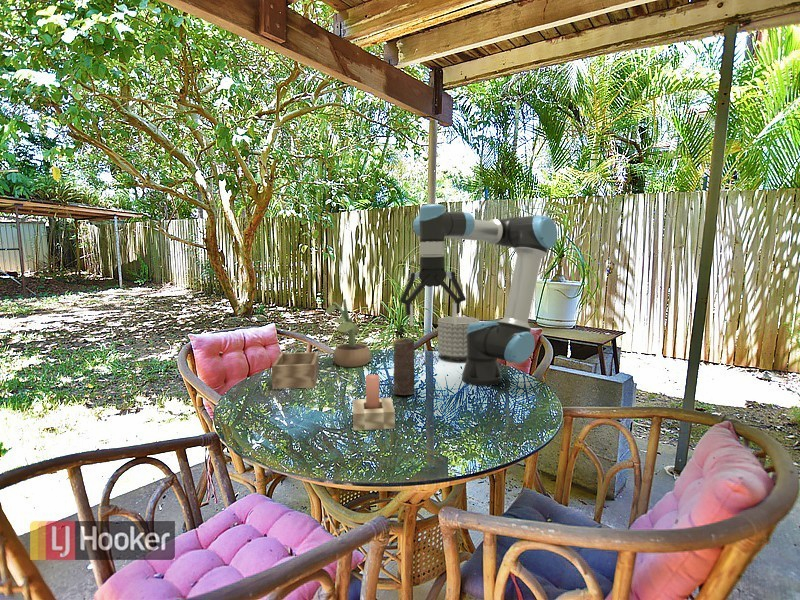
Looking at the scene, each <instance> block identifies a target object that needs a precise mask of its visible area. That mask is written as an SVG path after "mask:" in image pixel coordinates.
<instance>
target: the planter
mask: <svg viewBox="0 0 800 600" xmlns="http://www.w3.org/2000/svg"><path fill="white" fill-rule="evenodd" d="M474 322H480V319H479V318H476V317H471V316H457V324H453V323H452V316H445V317H440V318H438V320H437V325H438V326H437V353H438V354H440V355H443V356H444V357H445V358H448V359H451V360H453V361H464V360H467V327H468V325H469V324H470V323H474Z"/></svg>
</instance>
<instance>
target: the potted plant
mask: <svg viewBox="0 0 800 600" xmlns="http://www.w3.org/2000/svg"><path fill="white" fill-rule="evenodd" d="M342 300H343V301H342V304H343V308H342V307H341V305H339V304H338V303H337V302H336V301H332V305H330V306H329V307H327V308H326V309H325V314H326V313H327V314H328V315H331V314H332V313H334V312H335V310H336V309H337V310H338V311H339V313H340V314H341V315H340V318H336V319H334V320H333V322H334V323H337V324H339V323H340V324H339V325H338V326H337V330H338V331H339V332H341V333H347V335H348V343H342V344H338V345H337V346H336V347H335V349H334V352H333V356H332V358H333V362H334V363H335V364H336V365H337V366H339V367H343V368H357V367H363V366H366V365H367V364H368V363H370V360H371V359H372V354H371V350H370V349H369V345H367V344H365V343H359V342H356V335H357V334H358V331H359V326H358V325H357V324H356V323H354V321H353V319H352V317H350V315H349V311H348V307H347V306H348V305H347V299H346V298H343V299H342Z"/></svg>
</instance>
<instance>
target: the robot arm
mask: <svg viewBox="0 0 800 600" xmlns="http://www.w3.org/2000/svg"><path fill="white" fill-rule="evenodd" d="M412 226H413V227H412V229H413V231H414V233H415V235H416V236H418V237H419V254H420V256H421V257H420V258H419V265H420V266H419V270H420V271H419V272H410V274H409V279H408V282H407V283H406V286H405V288H404V290H403V292H402V295H401V296H400V298H399V301H400V303H401V304H404V305H405V313H406V316H409V325H410V326H409V327H414V305H413V304H412V303H413V301H414V300H415V299H416V298H417V296H418V295H419V294H420V293H421V291H422V290H423V289H424V288H425V287H429V288H430V287H439V286H441V288H443V290H444V291H445V292H446V293H447V294H448V295H449V296H450V297H451V299H452V300H453V302H451V303H452V304H451V305H452V306H451V307H452V308H451V309H452V310H451V311H452V313H451V315H452V316H451V317H452V323H453V324H457V317H458V316H457V314H460V312H461V303H462V302H465V301H466V295H465V294H464V293H463V290H462V288H461V285H460V284H459V282H458V280H457V277H456V271H454V270H451V271H449V272H448V271H446V268H445V267H446V265H445V264H446V261H445V259H446V258H445V256H444V255H445V254H446V253H445V251H446V249H445V247H446V246H445V239H455V240H466V241H467V240H468V241H479V242H482V241H483V242H486V243H487V244H489V245H496V246H501V247H506V248H507V247H508V248H514V249H513V250H514V251H515V254H516V255H517V256H516V259H515V264H514V270H513V274H512V279H511V283H510V287H509V292H508V297H507V301H506V306H505V310H504V316H503V318H502V319H500V320H498V322H497V321H496V320H491V321H490V320H487V321H486V320H485V321H479V322H474V323H470V324H469V325H468V327H467V359H466V361H465V365H464V367H463V370H462V374H461V380H462V382H464V383H466V384H468V385H473V386H480V387H481V386H484V387H486V386H495V385H498V384H500V383H501V382H502V374H501V369H500V367H499V364H498V363H499V362H498V360H501V361H506V362H507V363H513V364H514V363H515V364H522V363H524V362H526V361H527V360H528V359H529V358H530V357H531V356H532V354H533V353H534V349H535V346H536V345H535V344H536V342H535V336H534V334H532V332H531V329H532V327H531V325H530V324H529V319H530V318H529V317H530V314H531V309H532V303H533V299H534V295H535V289H536V286H537V279H538V275H539V271H540V265H541V260H542V259H543V258H544V257H546V256H547V254H548V250H549V249H551V248H553V247H554V246H555V245H556V243H557V241H558V229H557V226H556V223H555V220H553V219H552V218H551V217H550V216H548V215H538V214H537V215H532V216H531V215H528V216H514V217H508V218H499V219H497V218H492V219H491V218H490V219H489V220H482V219H481V220H480V219H474V216H473V215H472V214H471V213H470V212H464V211H446V210H445V206H444V205H443V204H440V203H439V204H437V203H434V204H433V203H432V204H431V203H430V204H422V205H421V206H420V207H419V215H418V216H416V217H415V218H414V220H413V225H412ZM446 277H447V278H448V279H449V280H450V281H451V283H452V285H453V288H454V289H455V290H456V293H457V295H456V293H454V291H453V290H452V289H451V288H450V286H448V284H447V283H446V282H445V281H444V280H445V279H446ZM418 278H419V279H420V283H419V284H417V287H416V288H415V289H414V291H413V292H412V293H411V294H410V296H408V295H409V293H410V291H411V289H412V287H413V285H414V283H415V281H416V280H417V279H418ZM457 296H458V297H457Z"/></svg>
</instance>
